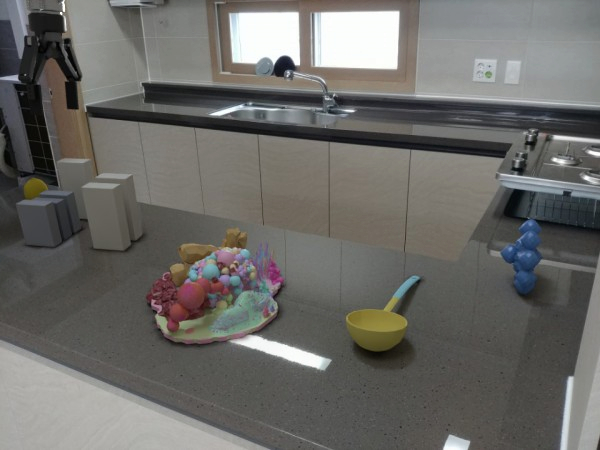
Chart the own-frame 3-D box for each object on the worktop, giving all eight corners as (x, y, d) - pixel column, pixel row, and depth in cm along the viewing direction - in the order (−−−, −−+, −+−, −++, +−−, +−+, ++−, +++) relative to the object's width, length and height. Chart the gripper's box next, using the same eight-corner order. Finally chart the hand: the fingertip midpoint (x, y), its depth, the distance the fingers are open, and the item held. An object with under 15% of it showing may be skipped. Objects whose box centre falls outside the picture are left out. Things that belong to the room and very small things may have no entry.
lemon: (26, 207, 136) (19, 177, 133) (49, 202, 139) (42, 172, 135) (30, 213, 132) (22, 183, 128) (53, 208, 134) (47, 178, 131)
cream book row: (113, 233, 119) (102, 172, 114) (142, 235, 118) (132, 174, 112) (93, 248, 112) (80, 185, 107) (123, 250, 111) (112, 186, 105)
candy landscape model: (133, 285, 97) (125, 239, 93) (251, 254, 107) (248, 211, 104) (175, 359, 77) (166, 304, 73) (316, 312, 87) (315, 261, 84)
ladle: (334, 353, 76) (336, 314, 75) (391, 301, 99) (393, 271, 98) (395, 367, 72) (398, 326, 71) (439, 310, 95) (441, 278, 94)
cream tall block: (75, 213, 131) (64, 158, 125) (101, 215, 129) (90, 159, 124) (68, 218, 128) (56, 161, 123) (94, 219, 127) (83, 162, 121)
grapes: (496, 268, 99) (504, 207, 94) (536, 272, 97) (546, 211, 92) (495, 299, 89) (503, 233, 84) (539, 305, 87) (550, 238, 82)
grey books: (54, 226, 124) (45, 188, 120) (81, 228, 122) (73, 189, 118) (26, 244, 115) (15, 203, 111) (54, 247, 113) (44, 205, 110)
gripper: (24, 8, 105) (36, 118, 111) (93, 17, 128) (99, 108, 135) (-10, 7, 106) (3, 116, 112) (64, 16, 129) (72, 106, 136)
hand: (56, 112), depth 123 cm, fingers open, 13 cm apart
